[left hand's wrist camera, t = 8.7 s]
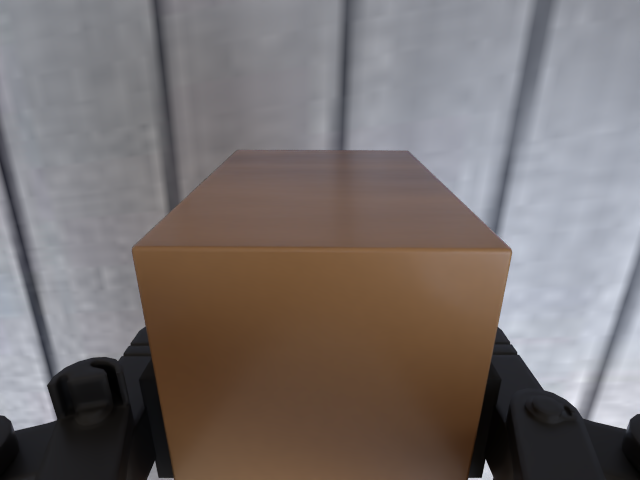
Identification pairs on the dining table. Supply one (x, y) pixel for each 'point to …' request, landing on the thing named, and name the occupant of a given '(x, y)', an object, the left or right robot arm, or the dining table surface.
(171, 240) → the bar
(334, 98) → the dining table surface
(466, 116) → the dining table surface
